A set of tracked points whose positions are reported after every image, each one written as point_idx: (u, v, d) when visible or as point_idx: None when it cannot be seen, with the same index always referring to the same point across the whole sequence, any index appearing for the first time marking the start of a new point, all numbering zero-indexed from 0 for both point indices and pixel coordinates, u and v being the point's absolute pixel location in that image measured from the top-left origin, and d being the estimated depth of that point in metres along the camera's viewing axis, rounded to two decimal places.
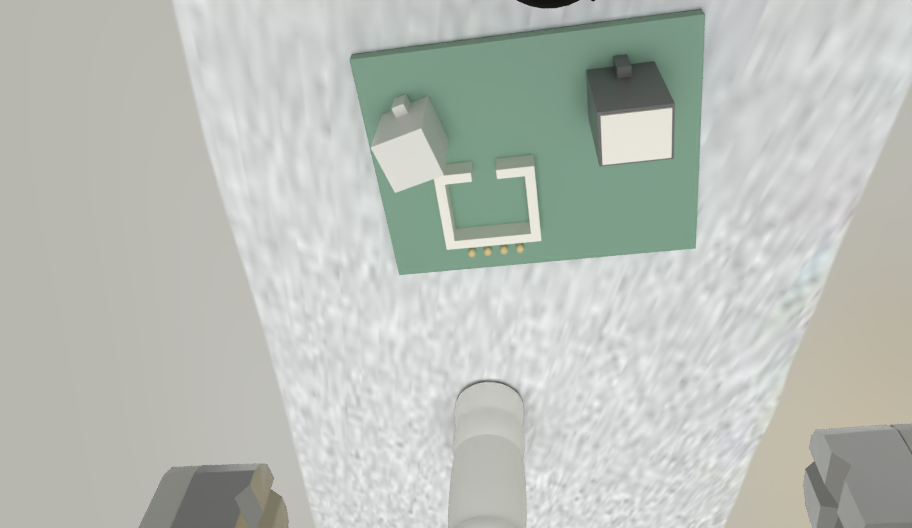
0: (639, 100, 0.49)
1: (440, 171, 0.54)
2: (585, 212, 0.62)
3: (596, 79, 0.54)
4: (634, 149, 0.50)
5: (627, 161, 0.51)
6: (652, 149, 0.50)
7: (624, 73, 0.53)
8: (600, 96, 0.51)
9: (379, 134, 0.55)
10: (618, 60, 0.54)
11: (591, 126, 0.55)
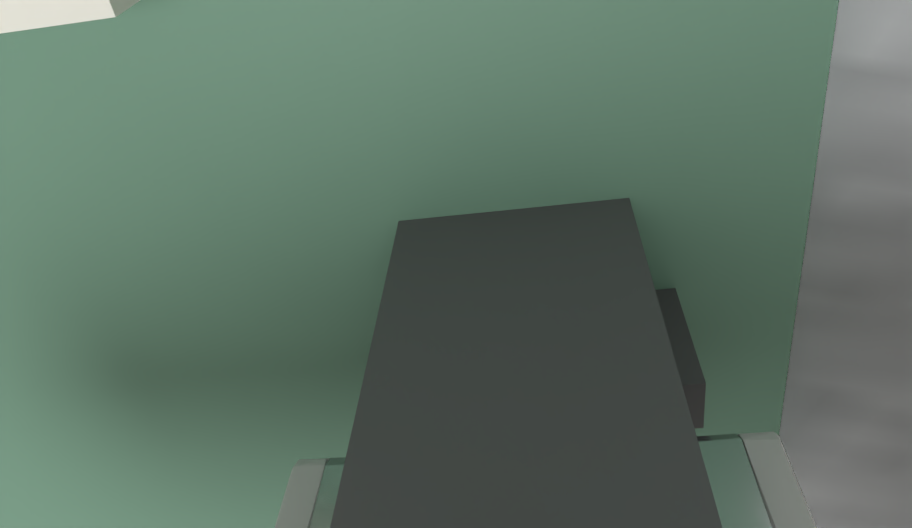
0: None
1: None
2: None
3: None
4: None
5: None
6: None
7: None
8: None
9: None
10: (686, 335, 0.13)
11: (418, 312, 0.11)
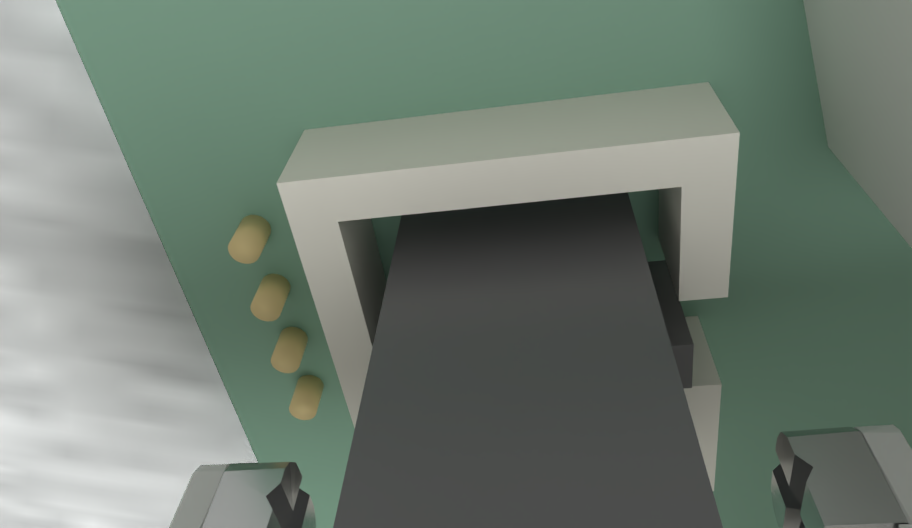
0: None
1: None
2: None
3: None
4: None
5: None
6: None
7: None
8: None
9: None
10: (676, 303, 0.14)
11: (425, 276, 0.12)
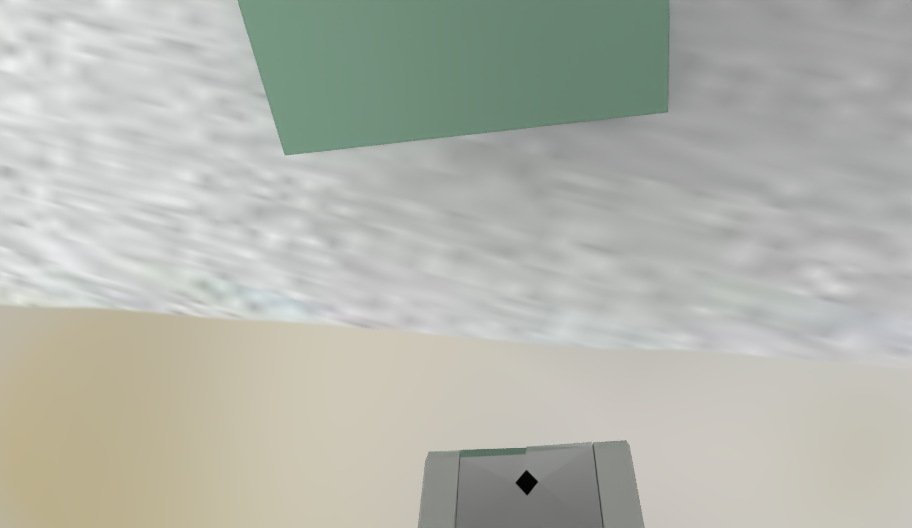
0: None
1: None
2: None
3: None
4: None
5: None
6: None
7: None
8: None
9: None
10: None
11: None
